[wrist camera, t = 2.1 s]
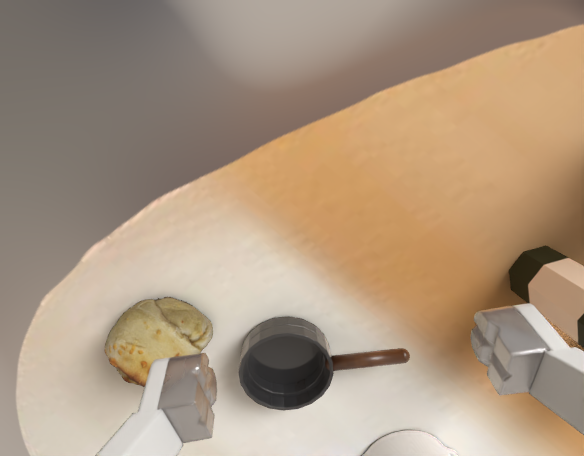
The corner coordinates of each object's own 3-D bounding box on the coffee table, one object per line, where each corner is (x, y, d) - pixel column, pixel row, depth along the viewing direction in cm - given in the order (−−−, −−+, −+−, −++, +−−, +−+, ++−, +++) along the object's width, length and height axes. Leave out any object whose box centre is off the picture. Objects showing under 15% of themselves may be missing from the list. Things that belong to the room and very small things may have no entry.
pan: (331, 382, 58) (335, 404, 53) (247, 391, 57) (245, 414, 53) (325, 310, 53) (330, 328, 49) (235, 319, 53) (232, 339, 49)
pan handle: (406, 344, 53) (411, 353, 51) (406, 356, 54) (411, 365, 52) (323, 353, 53) (325, 363, 51) (324, 365, 53) (326, 374, 52)
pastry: (115, 364, 55) (90, 407, 47) (112, 289, 50) (83, 323, 43) (211, 370, 56) (202, 412, 48) (216, 297, 52) (206, 331, 44)
